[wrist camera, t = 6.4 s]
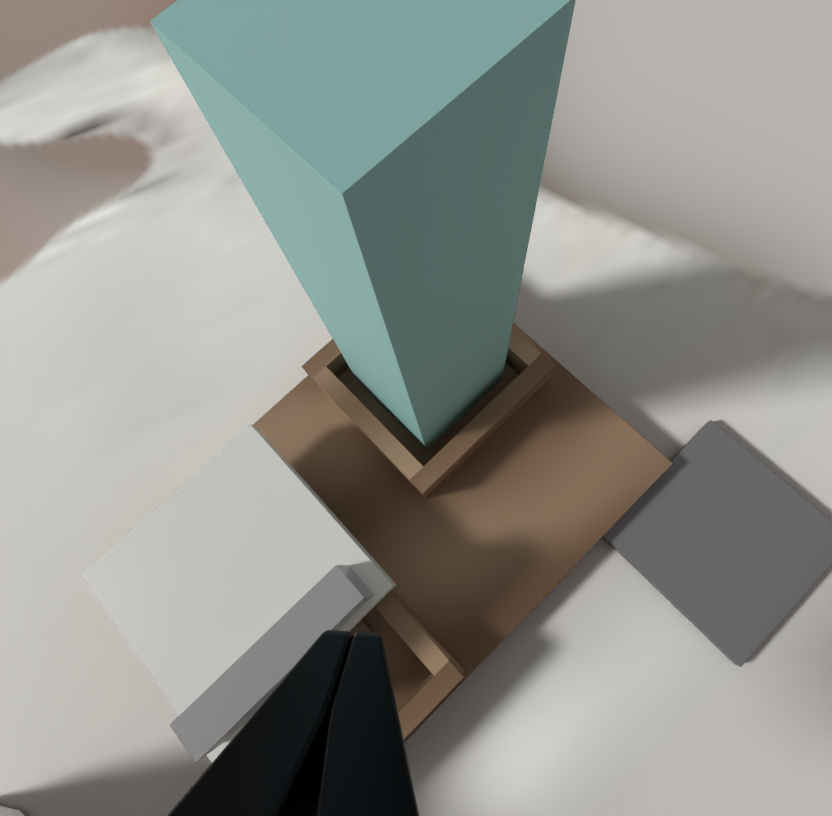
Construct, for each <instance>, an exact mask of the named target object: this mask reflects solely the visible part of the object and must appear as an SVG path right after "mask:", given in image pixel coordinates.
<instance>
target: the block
mask: <svg viewBox="0 0 832 816" xmlns="http://www.w3.org/2000/svg"><path fill="white" fill-rule="evenodd" d="M574 5H575V0H178V1H177V2H175V3H174V4H172V5H171V6H170V7H168V8H167V9H166V10H164V11H163V12H162V13H160V14H159V15H158V16H156V17H155V18H154V19H152V20H151V21H150V22H151V24H152V26H153V28H154V29H155V31H156V33H157V35H158V36H159V38H160V40H161V42H162V43H163V45H164V47H165V49H166V50H167V52H168V54H169V55H170V57H171V59H172V61H173V62H174V64H175V66H176V68H177V69H178V71H179V73H180V75H181V76H182V78H183V80H184V81H185V83H186V85H187V87H188V88H189V90H190V92H191V94H192V95H193V97H194V99H195V101H196V102H197V104H198V106H199V107H200V109H201V111H202V113H203V114H204V116H205V118H206V120H207V121H208V123H209V125H210V127H211V128H212V130H213V132H214V133H215V135H216V137H217V139H218V140H219V142H220V144H221V146H222V147H223V149H224V151H225V153H226V154H227V156H228V158H229V159H230V161H231V163H232V165H233V166H234V168H235V170H236V172H237V173H238V175H239V177H240V179H241V180H242V182H243V184H244V185H245V187H246V189H247V191H248V192H249V194H250V196H251V198H252V199H253V201H254V203H255V205H256V206H257V208H258V210H259V211H260V213H261V215H262V217H263V218H264V220H265V222H266V224H267V225H268V227H269V229H270V231H271V232H272V234H273V236H274V237H275V239H276V241H277V243H278V244H279V246H280V248H281V250H282V251H283V253H284V255H285V257H286V258H287V260H288V262H289V263H290V265H291V267H292V269H293V270H294V272H295V274H296V276H297V277H298V279H299V281H300V283H301V284H302V286H303V288H304V290H305V291H306V293H307V295H308V296H309V298H310V300H311V302H312V303H313V305H314V307H315V309H316V310H317V312H318V314H319V316H320V317H321V319H322V321H323V322H324V324H325V326H326V328H327V329H328V331H329V333H330V335H331V336H332V338H333V340H334V342H335V343H336V345H337V347H338V348H339V350H340V352H341V354H342V355H343V357H344V359H345V361H346V362H347V364H348V366H349V368H350V369H351V371H352V373H353V374H354V376H355V378H356V380H357V381H358V382H359V383H360V384H361V385H362V386H363V387H364V388H365V389H366V390H367V391H368V392H369V393H370V394H371V395H372V396H373V397H374V398H375V399H376V400H377V401H378V402H379V403H380V404H381V405H382V406H383V407H384V408H385V409H386V410H387V411H388V412H389V413H390V414H391V415H392V416H393V417H394V418H395V419H396V420H397V421H398V422H399V423H400V424H401V425H402V426H403V427H404V428H405V429H406V431H407V432H408V433H409V434H410V435H411V436H412V437H413V438H414V439H415V440H416V441H417V442H418V443H419V444H420V445H421V446H422V447H423V448H424V449H425V450H426V451H427V450H428V449H429V448H431V447H432V446H433V445H434V444H435V443H436V442H437V441H438V440H439V439H440V438H441V437H442V436H443V435H444V434H445V433H446V432H447V431H448V430H449V429H450V428H452V427H453V426H454V425H455V424H456V423H457V422H458V421H459V420H460V419H461V418H462V417H463V416H464V415H465V414H466V413H467V412H468V411H469V410H470V409H471V408H472V407H474V406H475V405H476V404H477V403H478V402H479V401H480V400H481V399H482V398H483V397H484V396H485V395H486V394H487V393H488V392H489V391H490V390H491V389H492V388H493V387H495V386H496V385H497V384H498V383H499V382H500V381H501V380H502V377H503V372H504V366H505V361H506V356H507V351H508V346H509V341H510V335H511V330H512V325H513V320H514V315H515V310H516V305H517V299H518V294H519V289H520V284H521V279H522V274H523V268H524V263H525V258H526V253H527V248H528V243H529V237H530V232H531V227H532V222H533V217H534V212H535V206H536V201H537V196H538V191H539V186H540V181H541V175H542V170H543V165H544V160H545V155H546V149H547V145H548V139H549V134H550V129H551V124H552V118H553V113H554V108H555V103H556V98H557V93H558V88H559V82H560V77H561V72H562V67H563V62H564V57H565V51H566V45H567V41H568V36H569V31H570V26H571V21H572V15H573V10H574Z"/></svg>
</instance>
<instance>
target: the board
mask: <svg viewBox="0 0 832 816" xmlns="http://www.w3.org/2000/svg"><path fill="white" fill-rule="evenodd" d="M302 368H303V369H304V370H305V371H306V372H307V374H308V376H307V377H306V378H305V379H304V380H303V381H301V382H300V383H299V384H298V385H297V386H296V387H295V388H294V389H293V390H291V391H290V392H289V393H288V394H287V395H286V396H285V397H284V398H282V399H281V400H280V401H279V402H278V403H277V404H276V405H275V406H274V407H272V408H271V409H270V410H269V411H268V412H267V413H266V414H265V415H263V416H262V417H261V418H260V419H259V420H258V421H257V422H256V423H255V424H253V425H252V426H254V427H255V428H257V429H258V430H260V431H261V432H262V433H263V434H264V435H265V437H266V438H267V439H268V440H269V441H270V442H271V443H272V444H273V446H274V447H275V448H276V449H277V450H278V451H279V452H280V454H281V455H282V456H283V457H284V458H285V459H286V460H287V461H288V463H289V464H290V465H291V466H292V467H293V468H294V469H295V470H296V472H297V473H298V474H299V475H300V476H301V477H302V478H303V479H304V481H305V482H306V483H307V484H308V485H309V486H310V487H311V489H312V490H313V491H314V492H315V493H316V494H317V495H318V496H319V498H320V499H321V500H322V501H323V502H324V503H325V504H326V505H327V507H328V508H329V509H330V510H331V511H332V512H333V513H334V514H335V516H336V517H337V518H338V519H339V520H340V521H341V522H342V524H343V525H344V526H345V527H346V528H347V529H348V530H349V531H350V533H351V534H352V535H353V536H354V537H355V538H356V539H357V540H358V542H359V543H360V544H361V545H362V546H363V547H364V548H365V549H366V551H367V552H368V553H369V554H370V555H371V556H372V557H373V559H374V560H375V561H376V562H377V563H378V564H379V565H380V566H381V568H382V569H383V570H384V571H385V572H386V573H387V574H388V575H389V577H390V578H391V579H392V580H393V581H394V582H395V583H396V584H397V585H396V586H395V587H394V588H393V589H392V590H391V591H390V592H389V593H388V594H387V595H386V596H385V597H384V598H383V599H382V600H381V601H380V602H379V603H378V604H377V605H376V606H375V607H374V608H373V609H372V610H371V611H370V612H369V613H368V614H367V615H366V616H365V617H363V618H362V619H361V620H360V621H359V622H358V623H357V624H356V625H355V626H354V627H353V628H352V629H351V630H350V631H349V632H351V633H353V636H354V634H355V633H357V632H368V633H379V634H381V635H382V637H383V641H384V645H385V650H386V655H387V660H388V665H389V670H390V675H391V680H392V685H393V690H394V694H395V699H396V704H397V709H398V714H399V719H400V724H401V729H402V734H403V739H404V742H405V741H406V740H407V739H408V738H409V737H410V736H411V735H412V734H413V733H414V732H415V731H416V730H417V729H418V728H419V727H420V726H421V725H422V723H423V722H424V721H425V720H426V719H427V718H428V717H429V716H430V715H431V714H432V713H433V712H434V711H435V710H436V709H437V708H438V707H439V706H440V705H441V704H442V703H443V702H444V701H445V700H446V699H447V697H448V696H449V695H450V694H451V693H452V692H453V691H454V690H455V689H456V688H457V687H458V686H459V685H460V684H461V683H462V682H463V681H464V680H465V679H466V678H467V677H468V676H469V675H470V674H471V673H472V671H473V670H474V669H475V668H476V667H477V666H478V665H479V664H480V663H481V662H482V661H483V660H484V659H485V658H486V657H487V656H488V655H489V654H490V653H491V652H492V651H493V650H494V649H495V648H496V647H497V645H498V644H499V643H500V642H501V641H502V640H503V639H504V638H505V637H506V636H507V635H508V634H509V633H510V632H511V631H512V630H513V629H514V628H515V627H516V626H517V625H518V624H519V623H520V622H521V621H522V619H523V618H524V617H525V616H526V615H527V614H528V613H529V612H530V611H531V610H532V609H533V608H534V607H535V606H536V605H537V604H538V603H539V602H540V601H541V600H542V599H543V598H544V597H545V596H546V595H547V593H548V592H549V591H550V590H551V589H552V588H553V587H554V586H555V585H556V584H557V583H558V582H559V581H560V580H561V579H562V578H563V577H564V576H565V575H566V574H567V573H568V572H569V571H570V570H571V569H572V567H573V566H574V565H575V564H576V563H577V562H578V561H579V560H580V559H581V558H582V557H583V556H584V555H585V554H586V553H587V552H588V551H589V550H590V549H591V548H592V547H593V546H594V545H595V544H596V543H597V541H598V540H599V539H600V538H601V537H602V536H603V535H604V534H605V533H606V532H607V531H608V530H609V529H610V528H611V527H612V526H613V525H614V524H615V523H616V522H617V521H618V520H619V519H620V518H621V516H622V515H623V514H624V513H625V512H626V511H627V510H628V509H629V508H630V507H631V506H632V505H633V504H634V503H635V502H636V501H637V500H638V499H639V498H640V497H641V496H642V495H643V494H644V493H645V492H646V490H647V489H648V488H649V487H650V486H651V485H652V484H653V483H654V482H655V481H656V480H657V479H658V478H659V477H660V476H661V475H662V474H663V473H664V472H665V471H666V470H667V469H668V468H669V467H670V466H671V464H672V462H671V461H669V460H668V459H667V458H666V457H665V456H664V455H663V454H662V453H660V452H659V451H658V450H657V449H656V448H655V447H654V446H652V445H651V444H650V443H649V442H648V441H647V440H646V439H645V438H643V437H642V436H641V435H640V434H639V433H638V432H637V431H635V430H634V429H633V428H632V427H631V426H630V425H629V424H628V423H626V422H625V421H624V420H623V419H622V418H621V417H620V416H618V415H617V414H616V413H615V412H614V411H613V410H612V409H610V408H609V407H608V406H607V405H606V404H605V403H604V402H603V401H601V400H600V399H599V398H598V397H597V396H596V395H595V394H593V393H592V392H591V391H590V390H589V389H588V388H587V387H586V386H584V385H583V384H582V383H581V382H580V381H579V380H578V379H576V378H575V377H574V376H573V375H572V374H571V373H570V372H569V371H567V370H566V369H565V368H564V367H563V366H562V365H561V364H559V363H558V362H557V361H556V360H555V359H554V358H553V357H552V356H550V355H549V354H548V353H547V352H546V351H545V350H544V349H542V348H541V347H540V346H539V345H538V344H537V343H536V342H535V341H533V340H532V339H531V338H530V337H529V336H528V335H527V334H525V333H524V332H523V331H522V330H521V329H520V328H519V327H517V326H516V325H515V324H514V323H513V325H512V330H511V335H510V341H509V346H508V351H507V356H506V361H505V366H504V372H503V377H502V380H501V381H500V382H499V383H498V384H497V385H496V386H495V387H493V388H492V389H491V390H490V391H489V392H488V393H487V394H486V395H485V396H484V397H483V398H482V399H481V400H480V401H479V402H478V403H477V404H476V405H475V406H474V407H472V408H471V409H470V410H469V411H468V412H467V413H466V414H465V415H464V416H463V417H462V418H461V419H460V420H459V421H458V422H457V423H456V424H455V425H454V426H453V427H452V428H450V429H449V430H448V431H447V432H446V433H445V434H444V435H443V436H442V437H441V438H440V439H439V440H438V441H437V442H436V443H435V444H434V445H433V446H432V447H431V448H429V449H428V450H427V451H426V450H425V449H424V448H423V447H422V446H421V445H420V444H419V443H418V442H417V441H416V440H415V439H414V438H413V437H412V436H411V435H410V434H409V433H408V432H407V431H406V429H405V428H404V427H403V426H402V425H401V424H400V423H399V422H398V421H397V420H396V419H395V418H394V417H393V416H392V415H391V414H390V413H389V412H388V411H387V410H386V409H385V408H384V407H383V406H382V405H381V404H380V403H379V402H378V401H377V400H376V399H375V398H374V397H373V396H372V395H371V394H370V393H369V392H368V391H367V390H366V389H365V388H364V387H363V386H362V385H361V384H360V383H359V382H358V381H357V380H356V378H355V376H354V374H353V373H352V371H351V369H350V368H349V366H348V364H347V362H346V361H345V359H344V357H343V355H342V354H341V352H340V350H339V348H338V347H337V345H336V343H335V342H334V340H333V339H332V340H331V341H330V342H329V343H328V344H326V345H325V346H324V347H323V348H322V349H321V350H320V351H319V352H317V353H316V354H315V355H314V356H313V357H312V358H311V359H310V360H308V361H307V362H306V363H305V364H304V365H303V366H302Z"/></svg>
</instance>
